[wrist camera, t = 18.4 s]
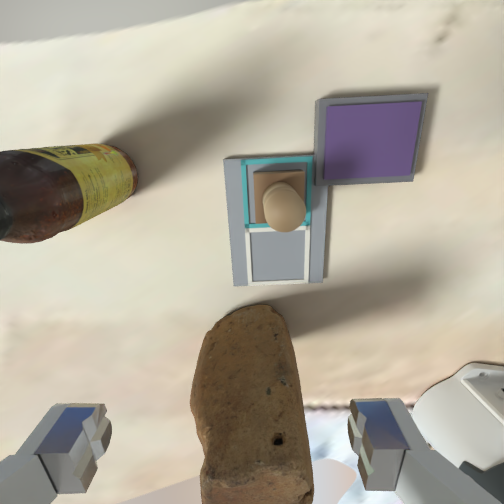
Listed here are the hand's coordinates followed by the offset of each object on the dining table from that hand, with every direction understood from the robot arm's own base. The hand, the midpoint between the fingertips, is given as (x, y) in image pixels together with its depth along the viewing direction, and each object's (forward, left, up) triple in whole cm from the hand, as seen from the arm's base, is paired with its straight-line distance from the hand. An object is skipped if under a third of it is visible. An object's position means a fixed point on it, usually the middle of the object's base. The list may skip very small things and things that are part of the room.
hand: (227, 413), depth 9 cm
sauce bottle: (+14, -5, -25) cm, 29 cm away
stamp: (-4, -3, -24) cm, 24 cm away
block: (0, +16, -25) cm, 29 cm away
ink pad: (-13, -7, -25) cm, 29 cm away
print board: (-4, +1, -25) cm, 25 cm away
